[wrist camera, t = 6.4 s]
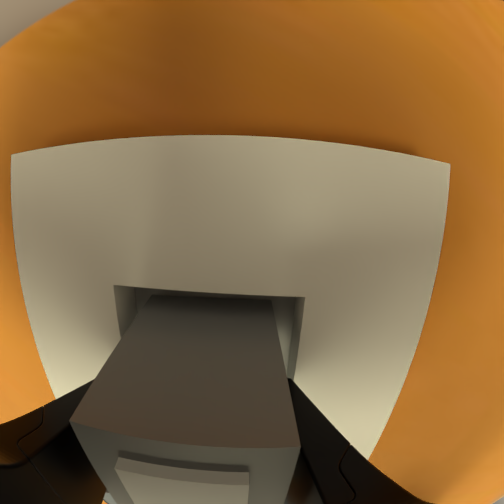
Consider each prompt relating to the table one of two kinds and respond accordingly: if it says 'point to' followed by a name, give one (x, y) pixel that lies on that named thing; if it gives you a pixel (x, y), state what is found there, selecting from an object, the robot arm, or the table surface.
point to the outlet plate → (236, 253)
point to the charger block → (193, 407)
